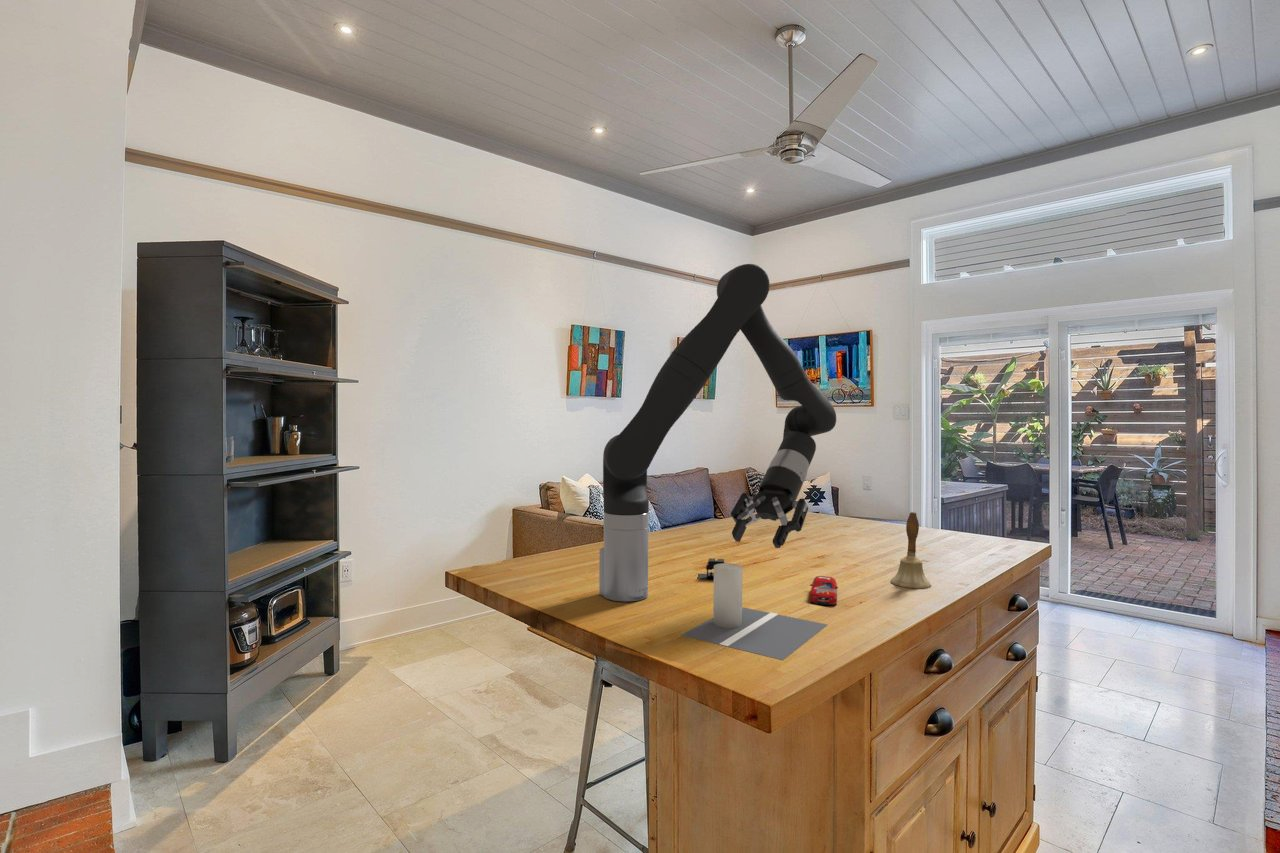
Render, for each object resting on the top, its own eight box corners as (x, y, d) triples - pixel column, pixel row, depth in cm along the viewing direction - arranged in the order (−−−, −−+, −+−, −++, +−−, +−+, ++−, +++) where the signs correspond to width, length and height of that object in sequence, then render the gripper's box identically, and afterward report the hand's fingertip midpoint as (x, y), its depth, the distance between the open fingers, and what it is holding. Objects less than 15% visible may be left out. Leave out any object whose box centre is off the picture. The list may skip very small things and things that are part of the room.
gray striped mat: (680, 637, 104) (680, 634, 104) (735, 608, 120) (735, 605, 120) (783, 663, 93) (783, 659, 93) (828, 627, 110) (828, 624, 110)
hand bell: (917, 578, 144) (918, 509, 144) (939, 588, 136) (940, 515, 135) (883, 579, 143) (884, 510, 142) (903, 589, 134) (904, 515, 134)
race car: (837, 609, 121) (837, 589, 121) (808, 606, 123) (808, 586, 123) (839, 591, 133) (839, 572, 133) (812, 588, 135) (813, 570, 135)
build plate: (743, 577, 146) (743, 557, 146) (743, 585, 139) (743, 565, 139) (690, 574, 148) (690, 555, 148) (687, 582, 141) (688, 562, 141)
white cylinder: (708, 624, 109) (708, 567, 109) (721, 616, 113) (722, 562, 113) (733, 630, 106) (734, 571, 106) (746, 622, 110) (747, 566, 110)
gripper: (747, 462, 128) (715, 525, 119) (812, 466, 119) (783, 535, 110) (760, 486, 132) (730, 548, 124) (824, 492, 123) (796, 559, 114)
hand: (755, 542), depth 117 cm, fingers open, 8 cm apart
